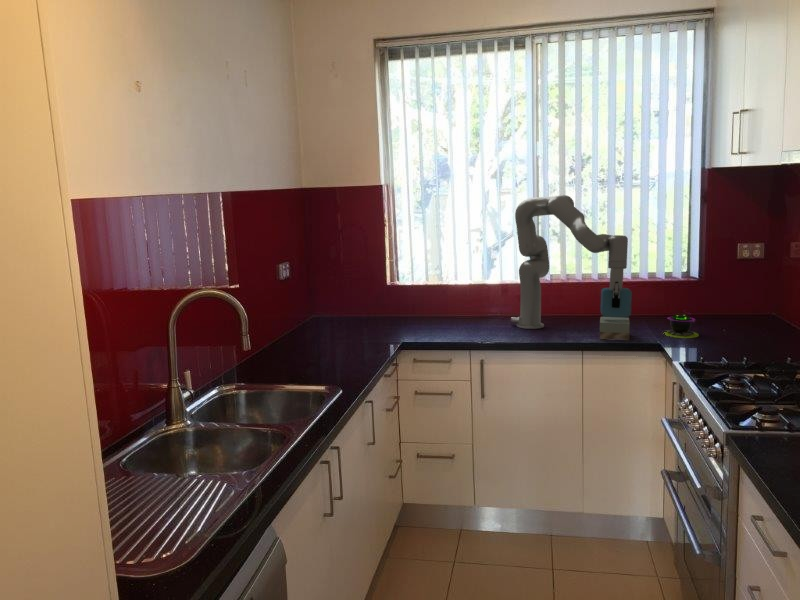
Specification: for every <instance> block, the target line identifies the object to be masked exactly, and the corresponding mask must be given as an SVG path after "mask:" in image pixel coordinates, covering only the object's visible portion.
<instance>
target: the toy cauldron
mask: <svg viewBox="0 0 800 600" xmlns="http://www.w3.org/2000/svg"><path fill="white" fill-rule="evenodd" d="M684 311H687V309H685V310H684ZM689 314H690V315H692V313H689ZM690 315H689V316H688V315H686V314H683V315H677V314H676V315H674V316H673V315H672V316H669V317H666V318H667V319H668V320H669V322H670V324H669V325H670V327H671V329H670V330H666V331H667V332H664V333H665V335H666V337H669V336H670V338H679V339H694V338H697V337H699V336H700V335H699V333H697V332H695V331H693V330H690V329H691V327H692V323H695V322H696V320H695V318H693V317H690ZM664 333H663V334H664ZM663 334H662V335H663ZM665 335H664V336H665Z"/></svg>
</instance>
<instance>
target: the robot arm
mask: <svg viewBox="0 0 800 600" xmlns="http://www.w3.org/2000/svg"><path fill="white" fill-rule="evenodd" d="M542 216H554V217H556V219H557V220H559V221H560V222H561V223H562V224H564V225H565V227H567V228H568V229H569V230H570V233H571V234H572V235H573V237H574V238H575V240H576V241H577V242H578V243H579V244H580V245H582V247H584V248H585V249H586V250H587V251H589V252H590V253H594V254H598V253H599V254H600V253H604V252H608V259H607V260H608V264H607V269H610V273H609V288H610V291H611V290H612V291H613V298H612V308H620V292H621V290H622V288H623V283H624V271H625V270H624V269H627V266H628V245H629V244H628V243H629V242H628V241H629V240H628V237H627V236H626V235H622V234H621V235H620V234H619V235H618V234H616V235H612V234H606V233H605V234H604V233H601V234H596V233H595V232H594V231H593V230H592V229H591V228H590V227H588V225H587V223H586V220H585V215H584V213H582V212H581V211H580V210H579V209H577V207H575V202H574V200H573V199H572V197H571V196H569V195H565V194H562V195H561V194H559V195H554V196H540V197H539V196H538V197H529V198H526V199H523V200H522V201H521V202H520V203H519V204H518V206H517V207H516V209H515V214H514V218H515V219H514V220H515V225H516V232H517V233H516V235H517V243H518V251H519V253H520V254H521V256H523V257H526V258H529V259H527V260H525V261H524V262H522V263H520V266H519V268H518V277H519V283H520V292H519V293H520V301H519V302H520V303H519V304H520V306H519V307H520V309H519V311H520V312H519V314H520V315H519V316H517V317H515V316H512V317H510V322H512V323H516V327H517V328H520V329H527V330H538V329H542V328H544V327H545V324H544V323H542V319H541V317H542V316H541V315H542V283H541V280H540V279H542V278H544V277H546V276H547V275H548V274H549V270H550V260H549V259H550V258H549V249H548V244H547V241H546V239H545V238H544V237H543V236H541V235H538V234H537V230H536V229H537V228H536V223H535V221H534V217H542ZM614 290H615V291H614ZM618 290H619V291H618Z"/></svg>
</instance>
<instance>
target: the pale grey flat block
mask: <svg viewBox="0 0 800 600" xmlns="http://www.w3.org/2000/svg"><path fill="white" fill-rule="evenodd" d="M629 327H630V318H629V317H604V316H600V319H599V333H600V332H614V333H629Z"/></svg>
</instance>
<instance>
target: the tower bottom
mask: <svg viewBox="0 0 800 600" xmlns="http://www.w3.org/2000/svg"><path fill="white" fill-rule="evenodd" d="M630 330H631V329H630V327H629V333H614V332H600V331H599V340H600V339H624V340H629V341H630V335H631V333H630Z"/></svg>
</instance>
